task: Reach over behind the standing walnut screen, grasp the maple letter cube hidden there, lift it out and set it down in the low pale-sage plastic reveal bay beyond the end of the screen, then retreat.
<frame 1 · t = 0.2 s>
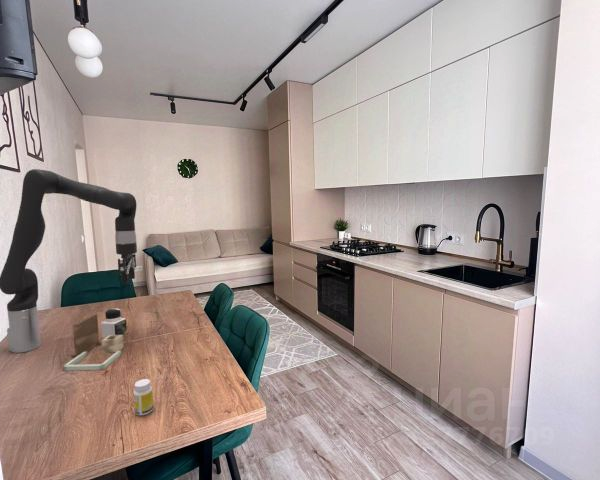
hand: (128, 281, 134), 28 cm above the table, fingers open, 8 cm apart
letter cube: (113, 350, 132), on the table
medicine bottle: (114, 335, 148), on the table
supplement bottle: (144, 411, 92), on the table
screen: (88, 350, 133), on the table
bay: (94, 361, 123), on the table
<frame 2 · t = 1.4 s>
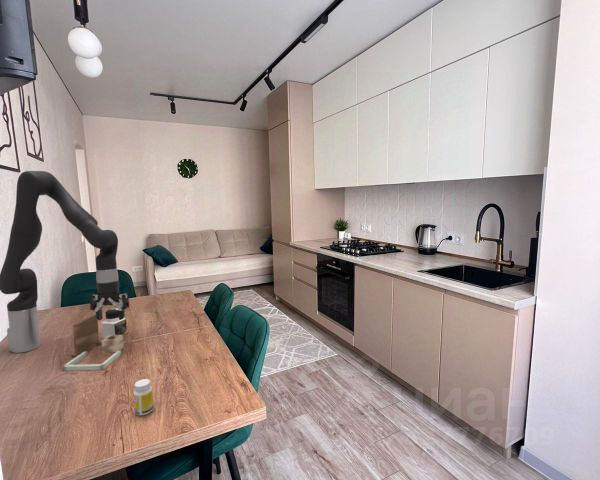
hand: (111, 319, 131), 13 cm above the table, fingers open, 8 cm apart
nothing on the table moved.
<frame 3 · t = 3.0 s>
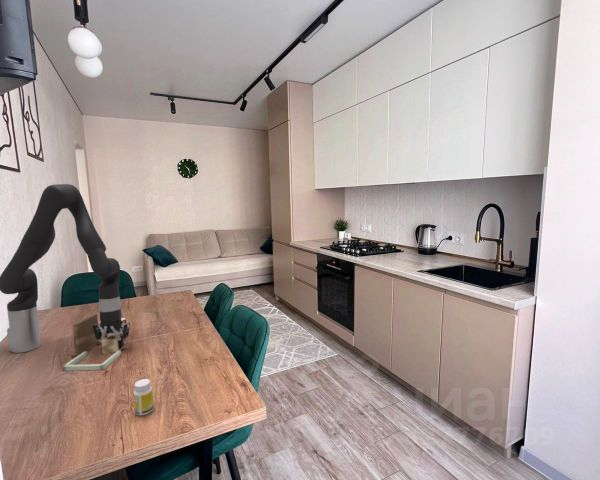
hand: (113, 348, 132), 1 cm above the table, fingers closed on letter cube, 5 cm apart
letter cube: (113, 350, 132), on the table, touching gripper
everything else where it was.
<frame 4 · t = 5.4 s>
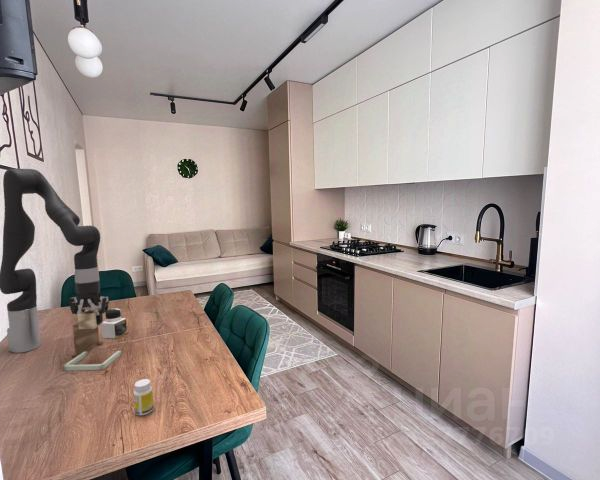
hand: (91, 324, 121), 15 cm above the table, fingers closed on letter cube, 5 cm apart
letter cube: (91, 326, 122), point 14 cm above the table, touching gripper
everything else where it was.
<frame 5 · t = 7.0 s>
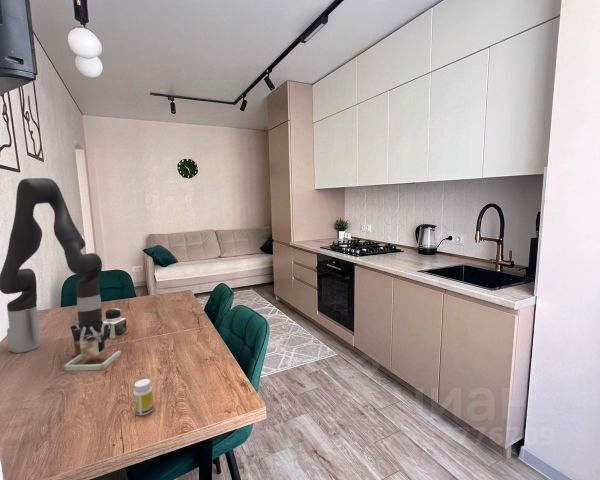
hand: (93, 350, 122), 4 cm above the table, fingers closed on letter cube, 5 cm apart
letter cube: (93, 352, 122), point 3 cm above the table, touching gripper
everything else where it was.
when the fingers open (2 cm above the table, at t = 8.0 s): letter cube drops 1 cm, on the table.
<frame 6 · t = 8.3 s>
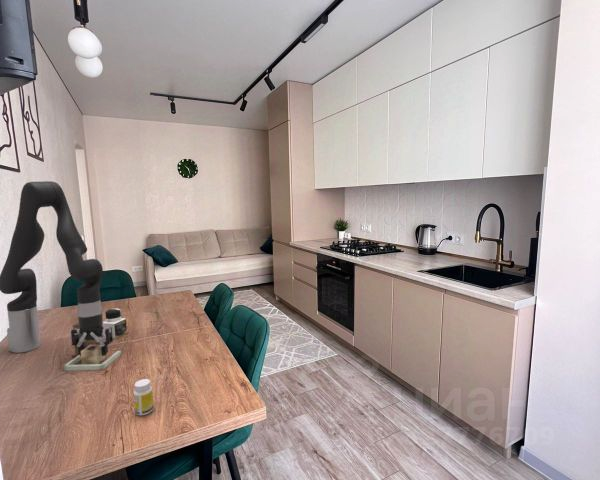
hand: (93, 355, 123), 2 cm above the table, fingers open, 7 cm apart
letter cube: (93, 361, 123), on the table
everything else where it was.
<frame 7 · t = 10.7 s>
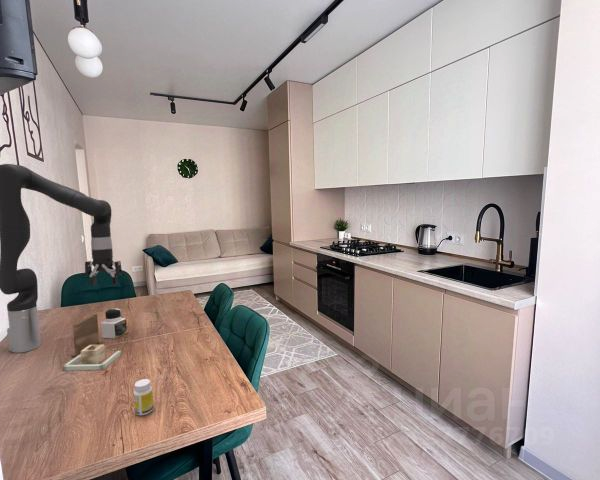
hand: (104, 285, 138), 25 cm above the table, fingers open, 8 cm apart
nothing on the table moved.
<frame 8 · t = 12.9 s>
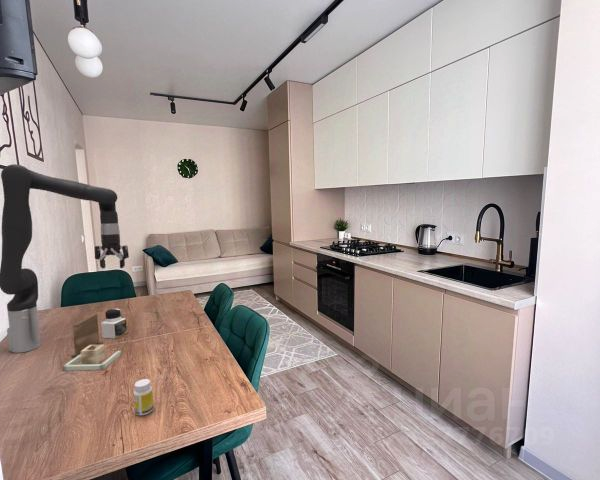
hand: (112, 267, 151), 30 cm above the table, fingers open, 8 cm apart
nothing on the table moved.
at the end: letter cube inside the target area (0.8 cm from its centre), on the table; letter cube tilted 0°; the gripper is holding nothing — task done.
